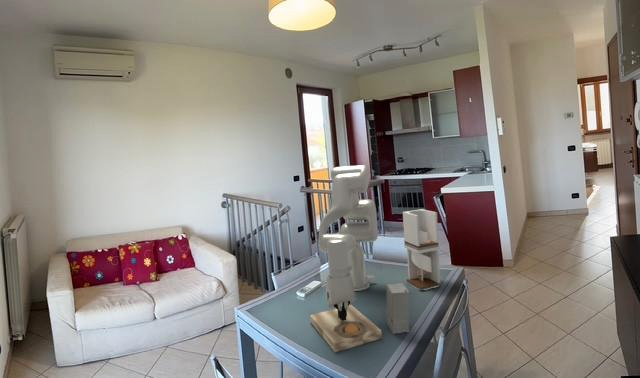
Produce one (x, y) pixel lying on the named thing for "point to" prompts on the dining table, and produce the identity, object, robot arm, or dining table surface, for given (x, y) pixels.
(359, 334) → the block
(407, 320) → the skincare box
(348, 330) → the ball
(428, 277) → the display case
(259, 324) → the dining table surface
